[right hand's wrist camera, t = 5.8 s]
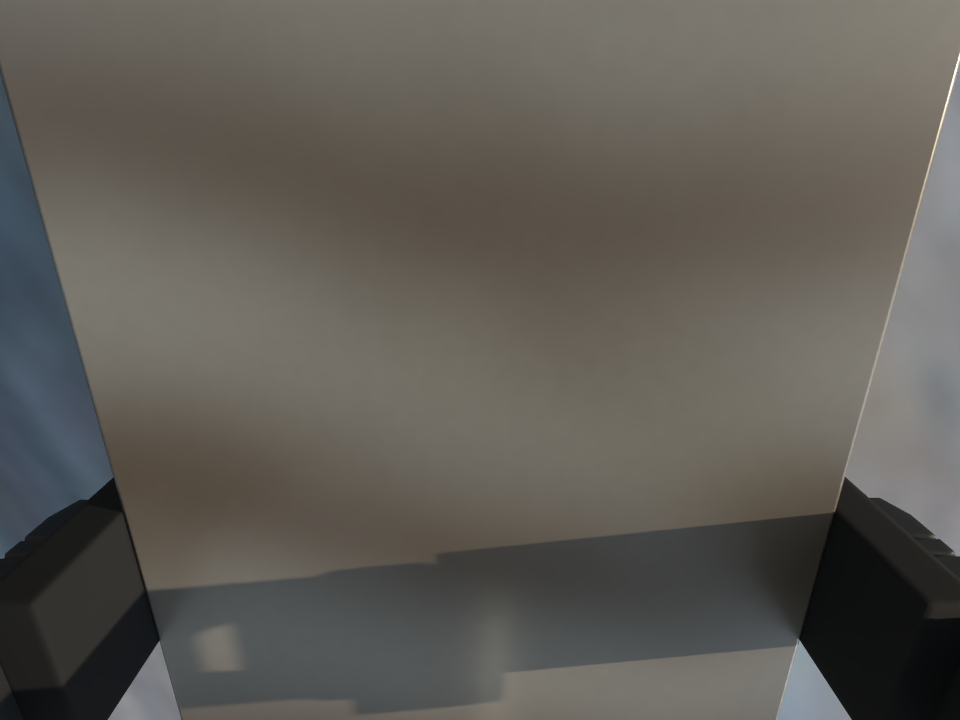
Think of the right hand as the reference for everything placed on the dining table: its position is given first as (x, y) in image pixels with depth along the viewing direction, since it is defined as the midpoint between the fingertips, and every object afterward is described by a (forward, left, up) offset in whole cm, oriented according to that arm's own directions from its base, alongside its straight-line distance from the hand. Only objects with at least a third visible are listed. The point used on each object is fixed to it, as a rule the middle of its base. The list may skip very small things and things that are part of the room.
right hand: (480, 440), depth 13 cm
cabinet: (+4, +5, -4) cm, 7 cm away
